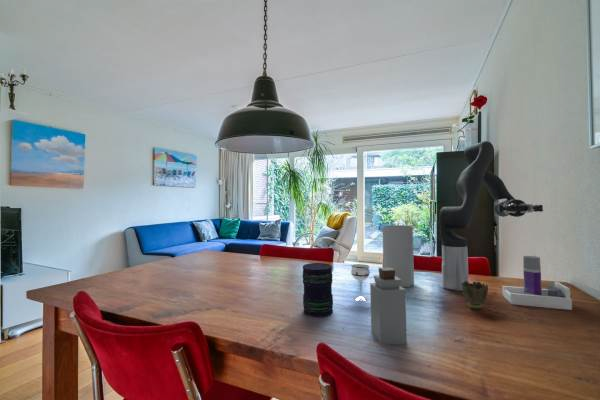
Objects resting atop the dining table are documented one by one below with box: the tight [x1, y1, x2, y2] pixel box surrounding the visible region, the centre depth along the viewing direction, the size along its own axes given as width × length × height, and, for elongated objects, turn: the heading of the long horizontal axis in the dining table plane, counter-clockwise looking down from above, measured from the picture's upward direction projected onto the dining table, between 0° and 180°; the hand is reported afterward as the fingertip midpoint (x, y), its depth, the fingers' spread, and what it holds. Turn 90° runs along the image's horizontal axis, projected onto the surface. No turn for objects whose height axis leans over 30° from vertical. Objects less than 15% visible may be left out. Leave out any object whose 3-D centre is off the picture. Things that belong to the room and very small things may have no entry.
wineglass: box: [350, 263, 371, 302], centre depth 104 cm, size 7×7×12 cm
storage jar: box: [302, 262, 334, 318], centre depth 92 cm, size 10×10×15 cm
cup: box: [462, 281, 489, 310], centre depth 93 cm, size 8×7×8 cm
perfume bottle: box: [369, 267, 408, 346], centre depth 73 cm, size 7×7×18 cm
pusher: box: [547, 283, 562, 297], centre depth 95 cm, size 1×7×5 cm, turn 158°
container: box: [522, 255, 542, 296], centre depth 98 cm, size 5×5×15 cm
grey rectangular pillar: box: [381, 224, 415, 288], centre depth 123 cm, size 12×12×25 cm
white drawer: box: [502, 281, 573, 311], centre depth 97 cm, size 16×10×6 cm, turn 68°
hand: (523, 208), depth 110 cm, fingers open, 8 cm apart
